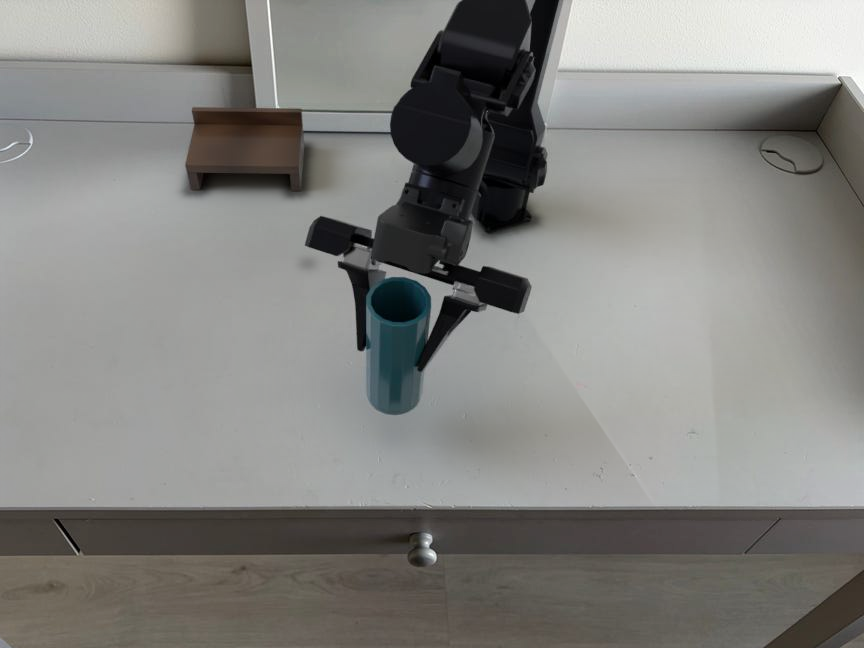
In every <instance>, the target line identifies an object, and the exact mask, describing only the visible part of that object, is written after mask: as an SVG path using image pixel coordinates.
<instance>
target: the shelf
mask: <svg viewBox="0 0 864 648" xmlns="http://www.w3.org/2000/svg"><path fill="white" fill-rule="evenodd" d="M191 115H192V120H193V124H194V125H193V128H192V131H191V132H192V133H191V137H190V141H189V146H188V151H187V155H186V160H185V163H184V166H185V169H186V171H185V172H186V175H187V179H188V180H187V181H188V184H189V188H190V190H191V191H200V190H201V187H202V183H203V177H204V173H205V174H277V175H278V174H285V175H286V174H287V175H289V178H290V179H289V180H290V190H291V192H301V191H302V183H303V182H302V180H303V169H304V157H305V134H304V119H303V108H294V107H293V108H290V107H289V108H288V107H287V108H284V107H283V108H281V107H280V108H279V107H219V106H218V107H217V106H216V107H211V106H210V107H209V106H208V107H207V106H192V108H191Z"/></svg>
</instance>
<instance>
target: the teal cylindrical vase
mask: <svg viewBox="0 0 864 648" xmlns="http://www.w3.org/2000/svg"><path fill="white" fill-rule="evenodd" d="M431 313H432V296H431V294H430V293H429V290H428V289H427V288H426V287H425V286H424V285H423V284H421V282H419V281H418V280H416V279H412V278H409V277H406V276H391V277H388V278H387V277H386V278H385V279H384V280H381V281H379V282H378V283H376V284H375V285H374V286H372V287H371V289H370V291H369V292H368V294H367V296H366V348H365V365H366V366H365V391H366V393H365V395H366V398H367V400H368V403H369V404H370V405H371V406H372V408H373V409H375V410H377V411H378V412H379V413H382V414H385V415H389V416H400V415H404V414H407V413H409V412H411V411H413V410H414V409H415V408H416V407H417V406H418V405H419V403H420V401H421V399H422V395H423V390H424V389H423V388H424V379H425V371H426V369H425V370H424V371H423V372H419V371H417V369H418V366H419V362H420V358H421V355H422V352H423V350H424V348H425V345H426V343H427V341H428V339H429V332H430V323H431Z"/></svg>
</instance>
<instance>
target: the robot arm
mask: <svg viewBox="0 0 864 648" xmlns="http://www.w3.org/2000/svg"><path fill="white" fill-rule="evenodd" d="M563 4H564V0H460V1H458V2H457V3H456V5H455V7H454V9H453V11H452V13H451V15H450V16H449V19H448V21H447V23H446V25H445V26H444V28H443V29H440V30H439V31H438V32H437V33H436V35H435V37H434V39H433V40H432V42H431V44H430V46H429V48H428V49H427V51H426V53H425V54H424V56H423V59H422V60H421V62H420V64H419V66H418V67H417V69H416V70H415V73H414V74H413V76H412V78H411V80H410V89H409V90H408V91H406V92H405V93H404V94H403V95H401V97H400V99H398V101H397V103H396V104H395V106H393V109H392V111H391V115H390V122H389V130H390V136H391V139H392V142H393V145H394V147H395V148H396V150H397V152H398V153H399V154H400V155H402V157H404V159H406V160H407V161H409V162H411V163H412V164H413V165H412V167H411V168H412V169H411V172H410V176H409V178H408V182H405V183H404V187H403V188H402V191H401V193H400V197H399V199H398V200H397V202H396V204H393V205H391V206H390V207H388V208H387V209H386V210H385V211H383V212H382V213H381V214H379V215H378V216H377V221H376V225H375V231H374V236H373V234H372V233H373V230H372V229H369V228H366V227H363V226H360V225H356V224H353V223H350V222H346V221H343V220H340V219H338V218H337V219H336V218H332V217H328V216H323V215H320V216H318V217H317V218H316V219H314V220H313V221H312V223H310V224H311V225H310V226H309V227H308V231H307V235H306V238H305V242H304V246H305V247H307V248H309V249H313V250H316V251H319V252H323V253H324V254H325V253H326V254H329V255H332V256H334V257H340V256H341V255H342V257H341V261H340V260H338V261H337V268H338V269H341V270H344V271H345V272H346V274H347V276H348V278H349V280H350V284H351V288H352V294H353V299H354V300H353V301H354V308H355V331H356V333H355V334H356V349H357V351H358V352H364V351H366V296H367V294H368V292H369V291H370V289H371V287H372V286H374V285H375V284H376V283H378V282H379V281H381V280H384V279H386V276H387V271H385V270H382V269H380V266H382V265H383V264H384V265H387V266H391V267H394V268H397V269H400V270H403V271H406V272H410V273H413V274H416V275H419V276H423V277H426V278H428V279H431V280H435V281H438V282H441V283H444V284H446V285H447V284H448V285H450V286H452V288H451V290H453V293H452V294H449V295H444V296H443V298H442V302H441V305H440V309H439V313H438V316H437V318H436V320H435V322H434V325H433V328H432V330H431V332H430V334H429V335H428V341H427V343H426V345H425V348H424V350H423V352H422V355H421V358H420V362H419V366H418V369H417V371H419V372H423V371H424V370H425V371H426V368H427V367H428V366H429V365H430V363H431V362H432V361H433V359H434V358H435V356H436V355H437V353H438V352H439V351H440V349H441V348H442V346H444V344H445V343H446V341H447V340H448V338H449V337H450V336H451V334H453V332H454V331H455V330H456V328H458V327H459V325H460V324H461V323H462V322H464V320H465V319H466V318H467V317H468V316H469V315H470V313H472V312H475V313H480V312H483V311H484V312H485V311H486V310H487V309H488V306H491V307H494V308H496V309H500V310H503V311H506V312H509V313H512V314H517V315H520V314H521V313H523V312H525V310H526V307H527V304H528V301H529V298H530V294H531V292H532V286H533V285H532V284H531V282H530V281H529V278H527V277H524V276H521V275H518V274H514V273H511V272H508V271H505V270H502V269H498V268H495V267H492V266H486V265H483V266H482V267H481V269H480V271H479V270H476V269H474V268H473V269H472V268H469V267H466V266H464V265H460V264H461V262H463V260H464V259H465V257H466V255H467V253H468V250H469V246H470V242H471V237H472V231H473V225H474V221H473V220H471V219H470V218H471V216H472V217H473V219H474V220H475V221H476V222H477V223H478V224H479V226H480V227H481V228H482V230H483V231H484V232H485V233H486V234H492V233H495V232H499V231H503V230H506V229H509V228H513V227H517V226H521V225H523V224H527V223H530V222H532V220H533V216H532V214H531V213H530V212H529V210H528V209H527V207H528V202H529V197H530V194H534V192H535V190H536V189H537V188H539V187H541V186H544V184H545V181H546V177H547V173H548V161H547V158H548V151H547V148H546V147H545V146H542V143H543V138H544V135H545V131H546V125H545V122H544V118H543V114H542V111H541V109H540V106H539V98H540V94H541V91H542V86H543V82H544V78H545V76H546V75H545V74H546V71H547V67H548V63H549V60H550V59H549V58H550V55H551V51H552V48H553V44H554V38H555V36H556V32H557V27H558V23H559V19H560V16H561V12H562V8H563ZM436 264H439V265H442V267H441V266H438V265H436ZM425 371H424V372H425Z"/></svg>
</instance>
